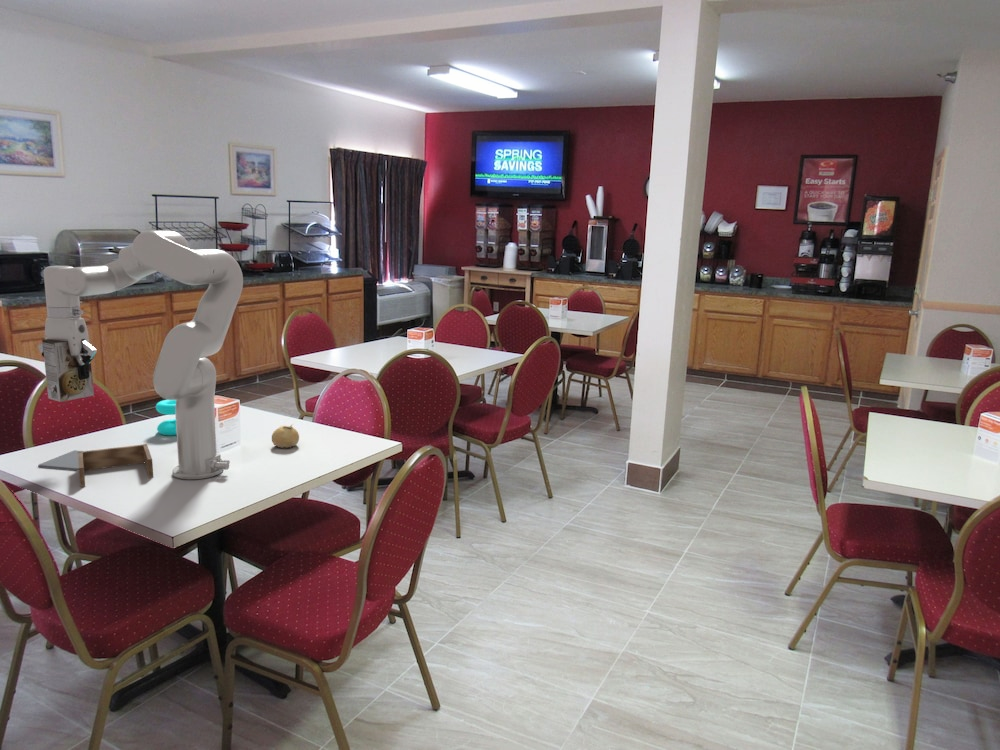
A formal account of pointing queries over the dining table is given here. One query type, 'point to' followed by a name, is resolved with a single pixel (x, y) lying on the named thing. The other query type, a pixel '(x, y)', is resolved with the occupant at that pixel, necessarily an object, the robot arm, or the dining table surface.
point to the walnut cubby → (114, 459)
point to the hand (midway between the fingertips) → (69, 377)
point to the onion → (285, 436)
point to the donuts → (167, 409)
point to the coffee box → (64, 372)
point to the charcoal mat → (64, 461)
